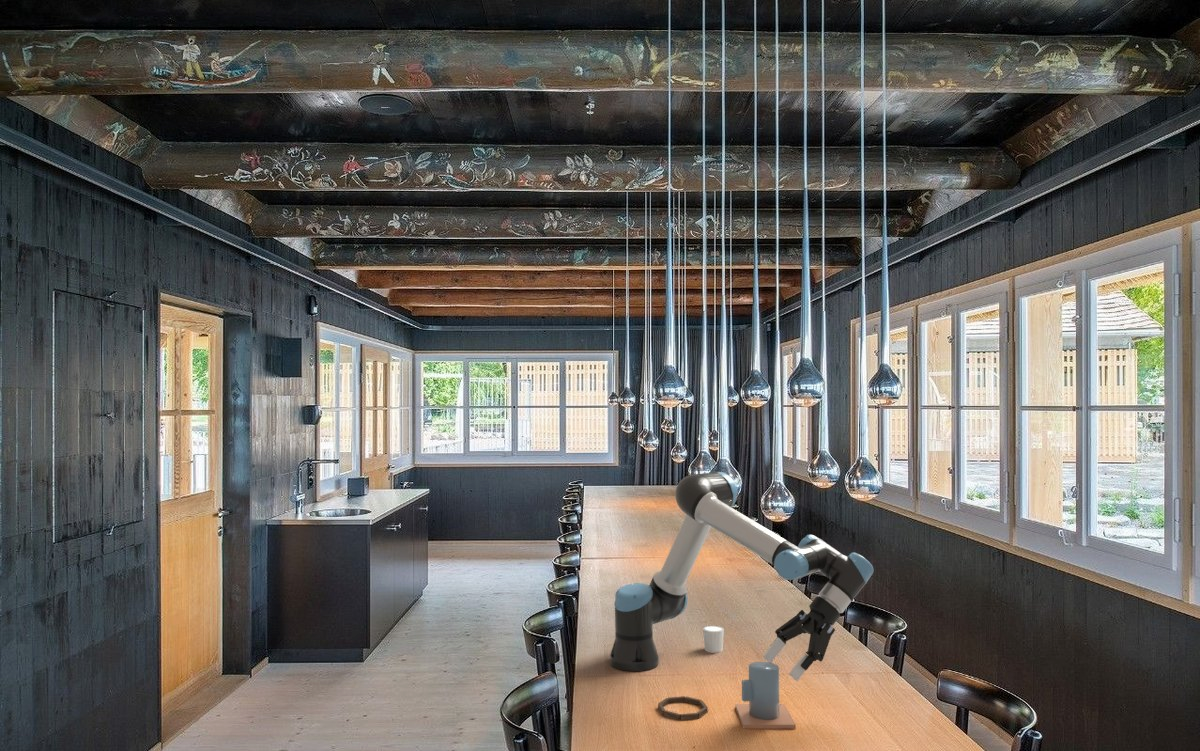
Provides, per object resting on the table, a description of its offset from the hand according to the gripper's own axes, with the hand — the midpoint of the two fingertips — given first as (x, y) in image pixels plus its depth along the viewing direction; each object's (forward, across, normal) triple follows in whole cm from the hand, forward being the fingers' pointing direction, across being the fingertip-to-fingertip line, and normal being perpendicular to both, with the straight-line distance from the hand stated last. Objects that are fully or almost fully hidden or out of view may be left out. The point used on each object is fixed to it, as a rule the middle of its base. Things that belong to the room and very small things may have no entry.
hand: (779, 668), depth 201 cm
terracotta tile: (+12, +1, -6) cm, 13 cm away
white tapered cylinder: (+5, +54, -14) cm, 56 cm away
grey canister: (+12, +1, -5) cm, 13 cm away
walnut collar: (+24, +12, +7) cm, 28 cm away
